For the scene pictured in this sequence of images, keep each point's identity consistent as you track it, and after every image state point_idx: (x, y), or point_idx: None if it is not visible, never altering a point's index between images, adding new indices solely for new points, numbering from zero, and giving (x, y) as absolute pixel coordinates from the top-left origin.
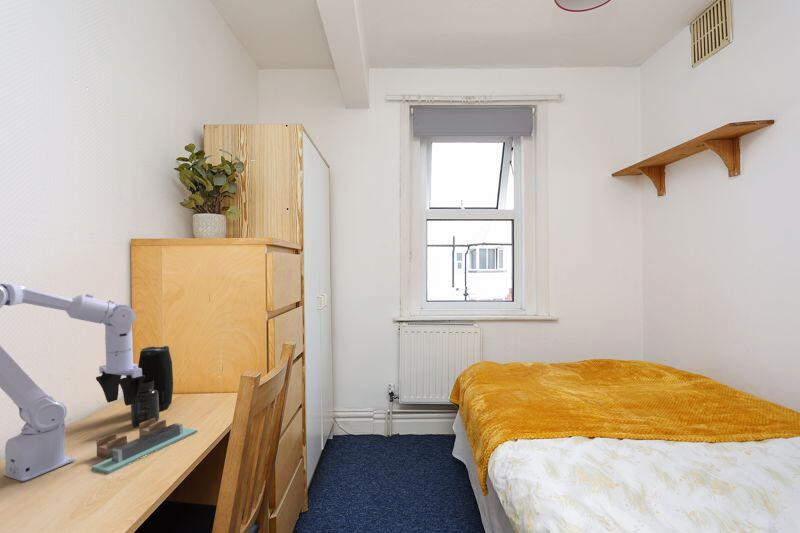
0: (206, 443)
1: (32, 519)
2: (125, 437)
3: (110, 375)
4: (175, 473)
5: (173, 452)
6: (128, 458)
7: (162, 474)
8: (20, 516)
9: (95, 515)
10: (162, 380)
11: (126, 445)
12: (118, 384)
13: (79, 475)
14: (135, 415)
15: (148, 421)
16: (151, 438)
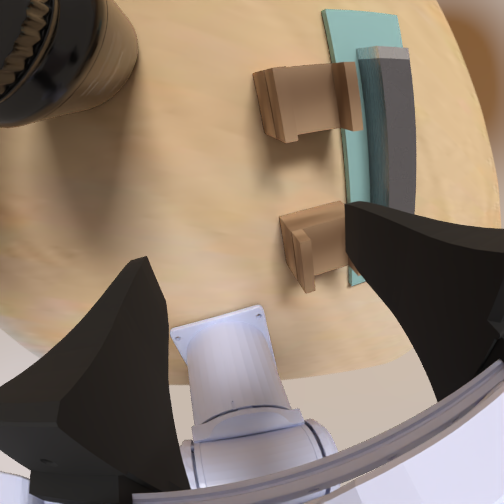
0: (464, 72)
1: (408, 344)
2: None
3: (154, 481)
4: (491, 189)
5: (443, 137)
6: None
7: (479, 203)
8: (388, 355)
9: None
10: None
11: None
12: (117, 326)
13: (351, 301)
14: (93, 102)
15: (292, 103)
16: (413, 165)
